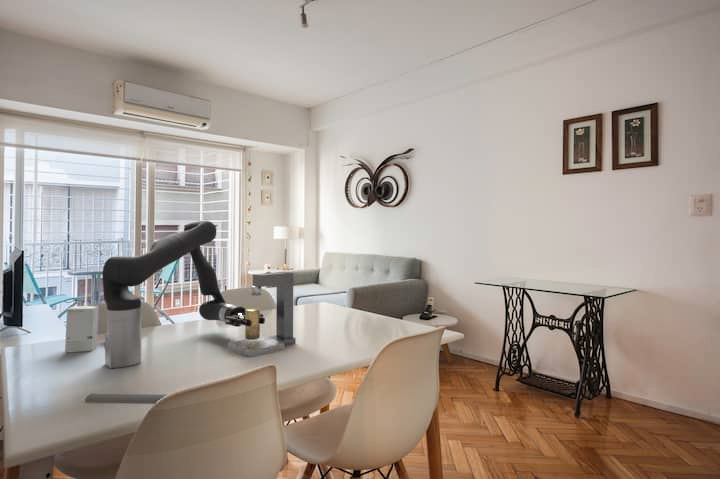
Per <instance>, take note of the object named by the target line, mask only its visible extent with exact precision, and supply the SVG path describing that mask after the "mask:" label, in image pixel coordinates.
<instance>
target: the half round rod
mask: <svg viewBox="0 0 720 479" xmlns="http://www.w3.org/2000/svg"><path fill="white" fill-rule="evenodd" d="M166 395H167V394H147V393H146V394H144V393H142V394H141V393H136V394H135V393H89V394H88V395H87V396H86V398H85V401H84V402H85V403H87V404H88V403H91V404H92V403H93V404H96V403H99V404H103V403H104V404H156V402H157V401H158V400H160V399H161V398H163V397H164V396H166Z"/></svg>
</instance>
